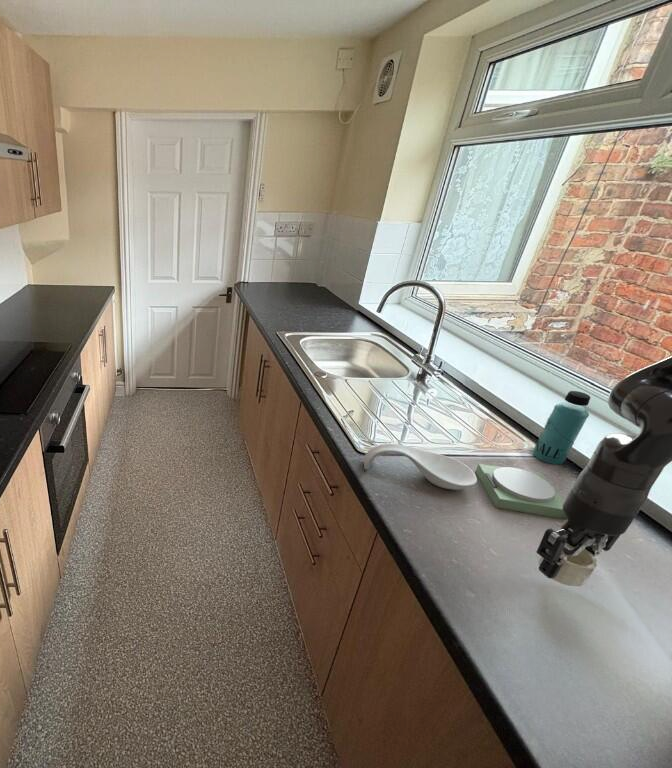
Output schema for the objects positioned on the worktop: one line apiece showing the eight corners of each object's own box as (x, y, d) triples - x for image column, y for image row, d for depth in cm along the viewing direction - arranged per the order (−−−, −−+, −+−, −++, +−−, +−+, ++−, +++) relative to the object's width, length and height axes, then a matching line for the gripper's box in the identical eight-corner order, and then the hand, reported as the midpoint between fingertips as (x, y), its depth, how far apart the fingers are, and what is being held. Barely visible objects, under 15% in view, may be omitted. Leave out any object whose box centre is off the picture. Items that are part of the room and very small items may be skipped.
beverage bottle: (556, 457, 108) (592, 390, 99) (566, 472, 103) (604, 402, 94) (525, 451, 111) (557, 385, 102) (533, 466, 105) (567, 397, 96)
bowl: (571, 562, 75) (583, 542, 73) (592, 592, 70) (605, 572, 67) (530, 554, 77) (541, 535, 74) (547, 583, 71) (559, 563, 69)
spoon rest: (464, 471, 104) (474, 447, 100) (479, 502, 94) (490, 477, 91) (361, 453, 111) (367, 430, 108) (365, 480, 101) (371, 456, 98)
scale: (537, 481, 100) (543, 469, 98) (566, 519, 89) (573, 507, 87) (475, 471, 104) (479, 460, 102) (495, 507, 92) (501, 495, 91)
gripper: (596, 522, 61) (551, 597, 68) (670, 505, 63) (618, 579, 71) (543, 489, 67) (507, 561, 75) (612, 474, 70) (570, 545, 77)
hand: (561, 569), depth 73 cm, fingers closed on bowl, 6 cm apart
